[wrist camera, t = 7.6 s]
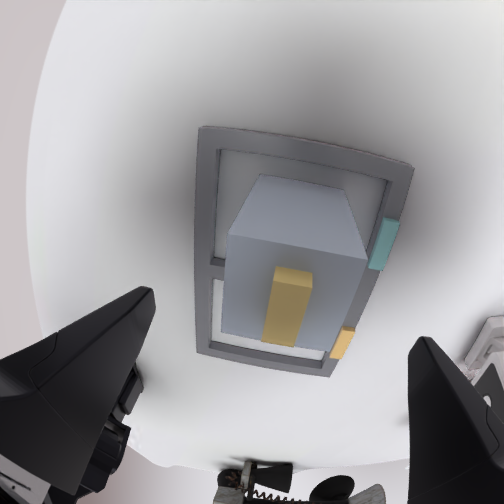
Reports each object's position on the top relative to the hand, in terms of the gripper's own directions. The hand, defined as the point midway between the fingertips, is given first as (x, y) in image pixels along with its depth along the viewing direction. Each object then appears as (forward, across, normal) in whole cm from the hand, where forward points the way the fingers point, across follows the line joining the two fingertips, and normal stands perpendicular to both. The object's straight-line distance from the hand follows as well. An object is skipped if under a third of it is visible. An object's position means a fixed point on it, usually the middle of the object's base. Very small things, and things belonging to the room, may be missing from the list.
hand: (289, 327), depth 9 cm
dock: (+8, 0, +4) cm, 9 cm away
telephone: (+9, -12, +47) cm, 49 cm away
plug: (+8, 0, 0) cm, 8 cm away
